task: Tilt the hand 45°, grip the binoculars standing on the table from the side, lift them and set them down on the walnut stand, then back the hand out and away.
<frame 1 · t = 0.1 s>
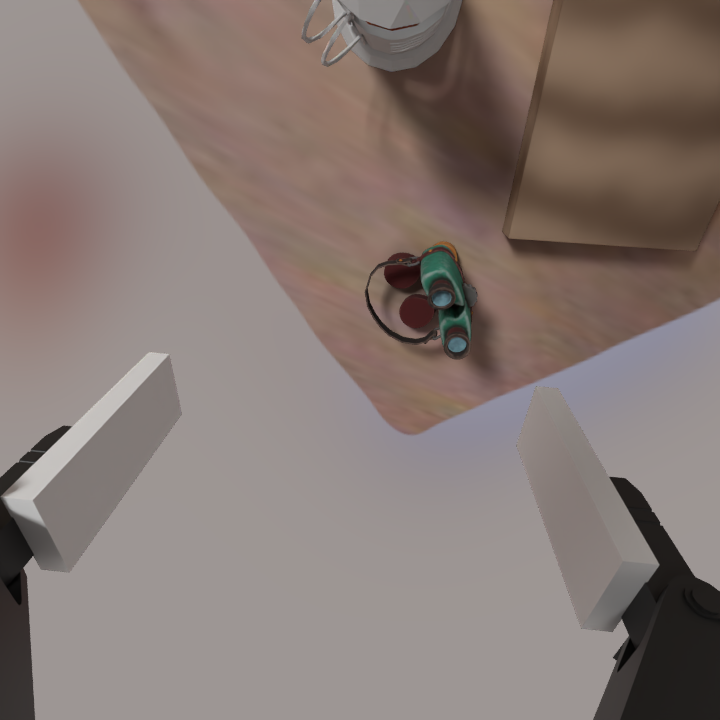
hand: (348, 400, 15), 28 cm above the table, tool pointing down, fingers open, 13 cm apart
walnut stand: (631, 111, 33), on the table
binoculars: (418, 286, 42), on the table
white plunger jar: (387, 2, 31), on the table
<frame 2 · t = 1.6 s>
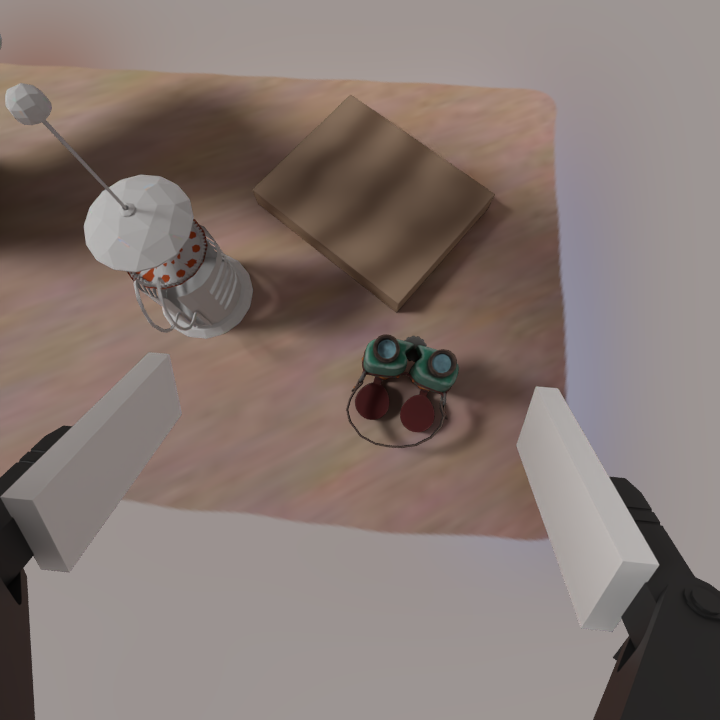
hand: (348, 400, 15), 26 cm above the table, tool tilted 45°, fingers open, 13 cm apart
walnut stand: (372, 205, 47), on the table
binoculars: (398, 400, 42), on the table
white plunger jar: (207, 302, 44), on the table
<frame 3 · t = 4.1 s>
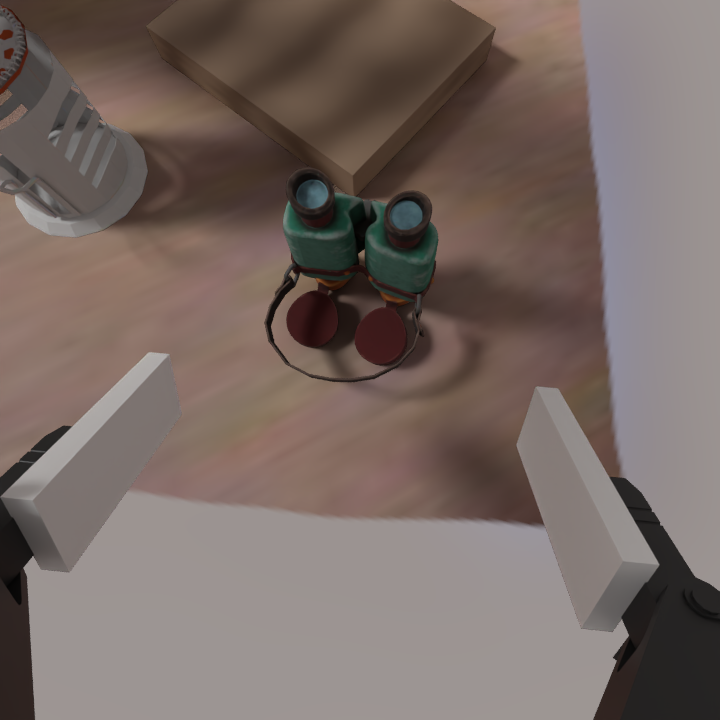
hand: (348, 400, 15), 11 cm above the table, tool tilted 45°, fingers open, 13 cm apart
walnut stand: (322, 59, 33), on the table
binoculars: (354, 322, 28), on the table
white plunger jar: (81, 189, 31), on the table
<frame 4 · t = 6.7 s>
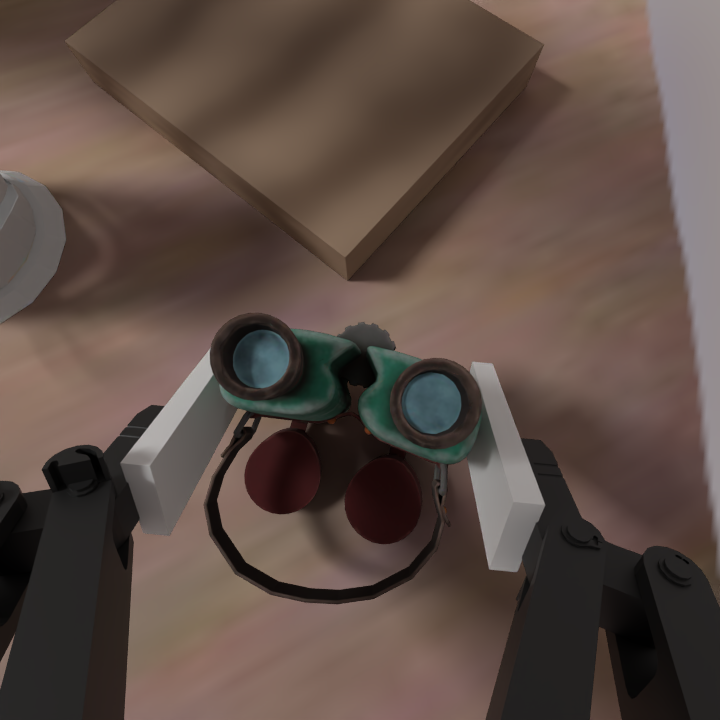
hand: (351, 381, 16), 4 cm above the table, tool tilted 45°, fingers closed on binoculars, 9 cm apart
walnut stand: (307, 84, 25), on the table
binoculars: (345, 465, 20), on the table, touching gripper
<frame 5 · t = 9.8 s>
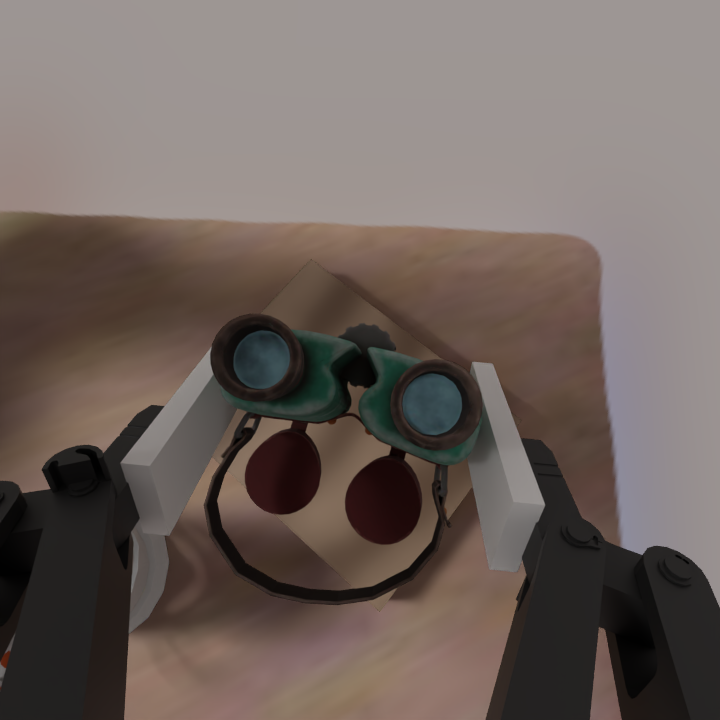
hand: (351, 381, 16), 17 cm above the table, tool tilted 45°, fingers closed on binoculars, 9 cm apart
walnut stand: (343, 420, 33), on the table
binoculars: (345, 465, 20), point 13 cm above the table, touching gripper
white plunger jar: (102, 581, 30), on the table
when the fingers open (8 cm above the table, at t = 12.8 s): binoculars drops 1 cm, resting on walnut stand.
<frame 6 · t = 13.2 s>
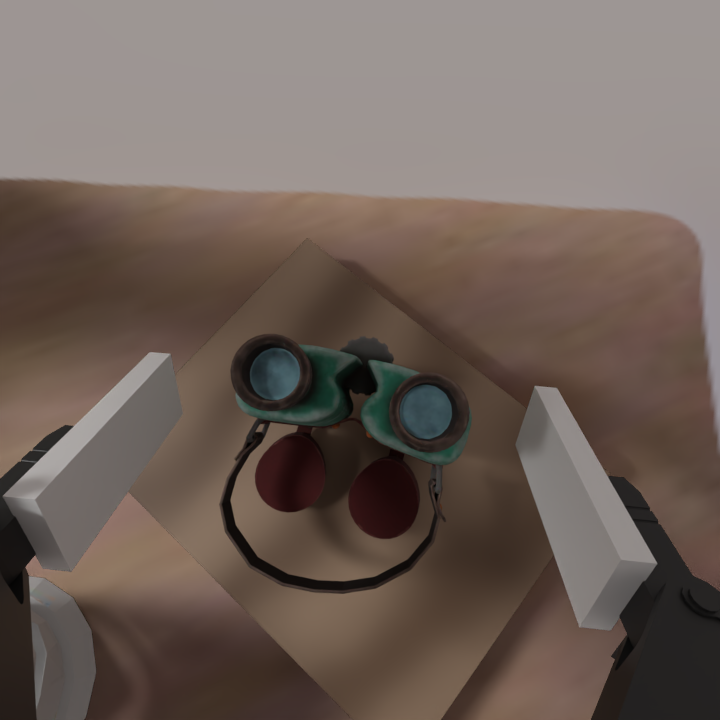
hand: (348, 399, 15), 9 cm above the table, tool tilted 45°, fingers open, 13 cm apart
walnut stand: (350, 465, 23), on the table
binoculars: (348, 466, 21), point 2 cm above the table, touching walnut stand
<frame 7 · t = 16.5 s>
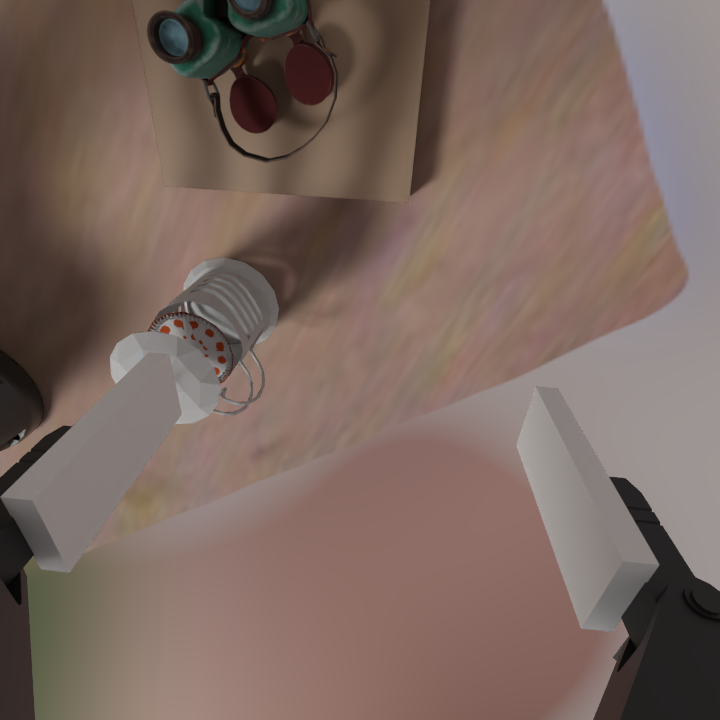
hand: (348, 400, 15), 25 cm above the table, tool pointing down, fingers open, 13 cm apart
walnut stand: (288, 77, 32), on the table
binoculars: (281, 76, 30), point 2 cm above the table, touching walnut stand
white plunger jar: (238, 310, 43), on the table
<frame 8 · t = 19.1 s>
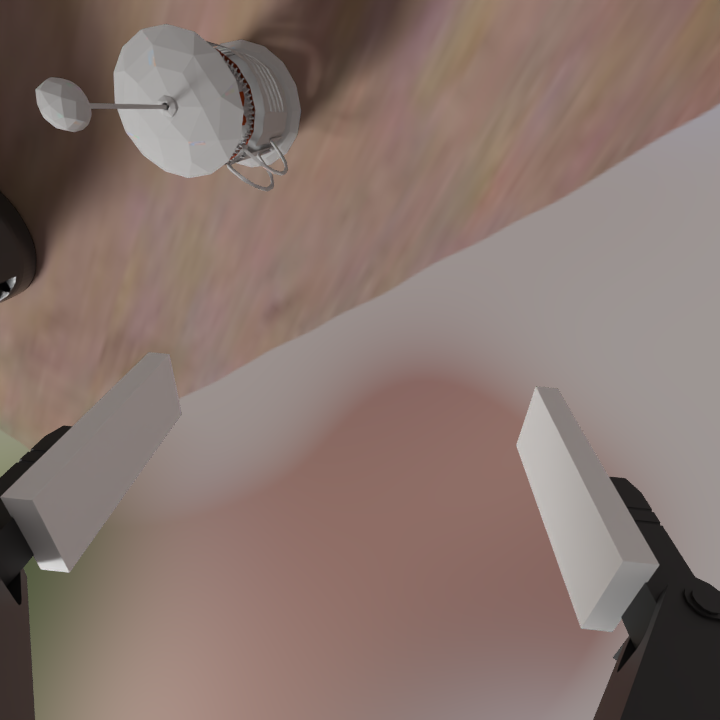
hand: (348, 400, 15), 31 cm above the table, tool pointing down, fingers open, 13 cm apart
white plunger jar: (255, 116, 38), on the table
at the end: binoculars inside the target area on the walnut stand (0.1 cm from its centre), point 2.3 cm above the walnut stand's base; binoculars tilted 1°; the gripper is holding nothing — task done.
